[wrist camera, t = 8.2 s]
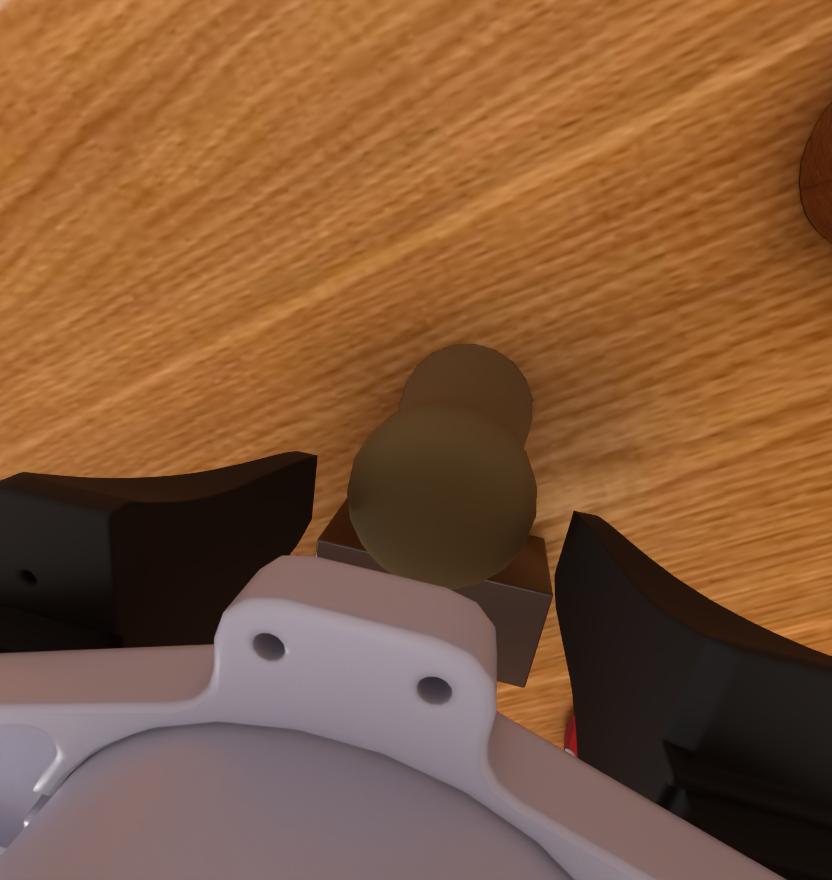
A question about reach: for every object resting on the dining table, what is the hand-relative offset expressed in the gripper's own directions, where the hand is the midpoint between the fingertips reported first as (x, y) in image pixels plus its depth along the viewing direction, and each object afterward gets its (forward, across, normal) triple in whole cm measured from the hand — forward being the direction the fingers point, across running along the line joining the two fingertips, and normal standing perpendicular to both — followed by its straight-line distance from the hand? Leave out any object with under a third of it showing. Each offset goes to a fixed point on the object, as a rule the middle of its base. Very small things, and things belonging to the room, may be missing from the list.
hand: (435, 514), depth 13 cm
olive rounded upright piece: (+10, 0, 0) cm, 10 cm away
